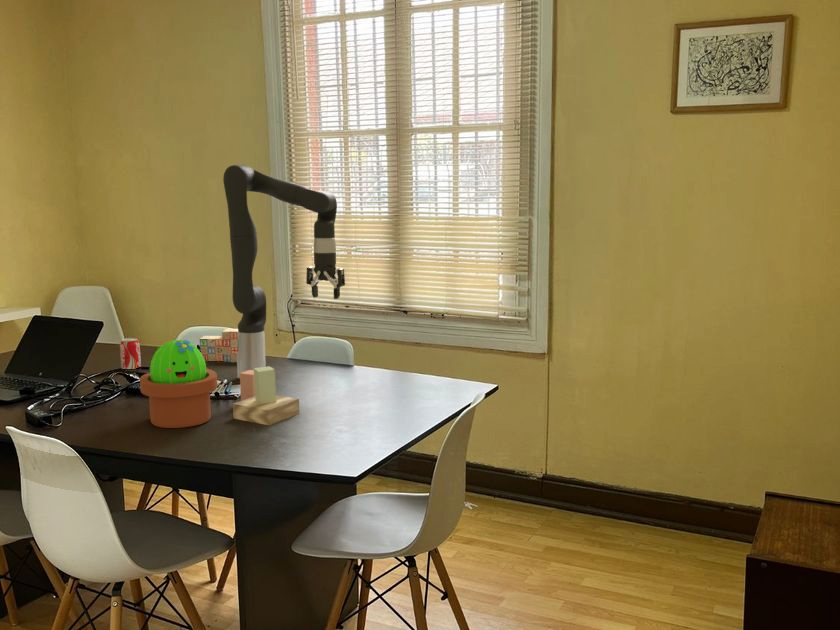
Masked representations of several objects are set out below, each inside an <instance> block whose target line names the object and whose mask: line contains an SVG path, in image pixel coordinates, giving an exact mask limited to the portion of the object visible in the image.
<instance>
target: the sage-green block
mask: <svg viewBox="0 0 840 630" xmlns="http://www.w3.org/2000/svg"><path fill="white" fill-rule="evenodd" d="M254 382H255V399H256V401H257V402H258V403H259V404H265V403H272V402H276V395H277V387H276V385H277V384H276V370H275V368H274V367H271V366H266V367H260V368H254Z"/></svg>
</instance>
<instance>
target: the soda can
mask: <svg viewBox="0 0 840 630" xmlns="http://www.w3.org/2000/svg"><path fill="white" fill-rule="evenodd" d="M140 348H141V346H140V342H139V340H138V338H136V337H127V338H122V339H121V340H120V343H119V354H120V355H119V356H120V357H119V358H120V367H121V370H122V369H136V368H139V367H141V366H142V362H141V361H142V360H141V358H142V357H141V349H140ZM141 368H142V367H141Z"/></svg>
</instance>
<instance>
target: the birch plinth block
mask: <svg viewBox="0 0 840 630" xmlns="http://www.w3.org/2000/svg"><path fill="white" fill-rule="evenodd" d="M299 399H300V398H296V397H295V398H294V397H290V396H289V397H288V396H283V395H277V394H276V402H272V403H265V404H259V403H258V402H257V401H256V399H255V396H254V397H251V398H248V399H245V400H242V401H241V400H240V401H237V402H234V403H233V402H232V416H233V417H232V418H233V420H234V419H235V420H239V421H244V422H250V423H254V422H255V423H256V424H260V425H266V426H271V425H273V423H274V424H276V423H278V422H281V420H282V421H284V420H287V419H290V418H291V417H294V416H296V415H299V414H300V400H299Z"/></svg>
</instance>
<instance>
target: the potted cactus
mask: <svg viewBox="0 0 840 630" xmlns="http://www.w3.org/2000/svg"><path fill="white" fill-rule="evenodd" d="M201 351H202V350H201ZM207 364H209V363H207V362H206V361H205V360H204V358H203V356H202V354H201V352H200V349H198V347H197V346H196V345H194V344H193V343H192V342H191V341H189V340H188V339H181V338H180V339H176V338H174V339H172V340H170V341H166V342H165V341H164V343H163V344H162V345H158V348H157V350H156V351H155V352H154V355H152V359H151V360H150V367H149V372H147V373H144V374H143V375H141V376H140V378H139V387H140V393H141V394H142V395H144V396H146V397H148V398H149V399H148V401H149V402H148V403H149V416H150V422H151V424H152V425H153V426H155V427H158V428H163V429H181V428H182V429H183V428H188V427H189V428H190V427H195V426H199V425H202V424H205V423H207V422H208V421H210V419H211V415H212V414H211V396H210V395H211V393H210V392H213V391H215V390H216V388H218V374H217V372H216V371H215V370H212V369H209V368H208V367H207V366H206V365H207Z"/></svg>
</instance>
